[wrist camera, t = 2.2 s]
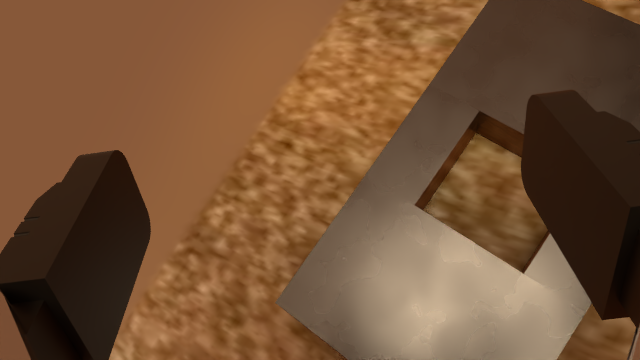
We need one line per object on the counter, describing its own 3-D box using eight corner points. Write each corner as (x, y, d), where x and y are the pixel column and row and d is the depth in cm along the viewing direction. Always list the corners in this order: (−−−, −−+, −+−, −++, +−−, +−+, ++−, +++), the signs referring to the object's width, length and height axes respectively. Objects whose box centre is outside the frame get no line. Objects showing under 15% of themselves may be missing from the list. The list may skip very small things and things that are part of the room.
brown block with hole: (504, 2, 32) (510, -30, 29) (709, 94, 28) (739, 66, 25) (291, 306, 30) (275, 302, 27) (483, 455, 26) (488, 469, 23)
